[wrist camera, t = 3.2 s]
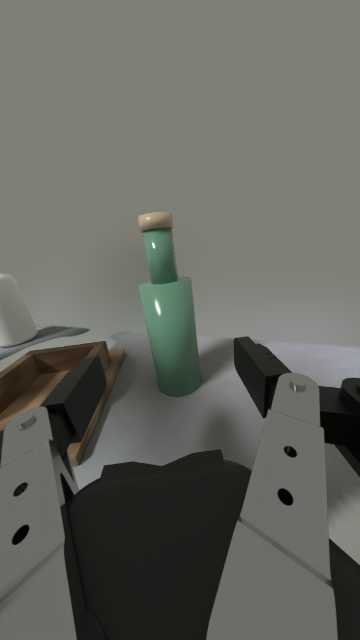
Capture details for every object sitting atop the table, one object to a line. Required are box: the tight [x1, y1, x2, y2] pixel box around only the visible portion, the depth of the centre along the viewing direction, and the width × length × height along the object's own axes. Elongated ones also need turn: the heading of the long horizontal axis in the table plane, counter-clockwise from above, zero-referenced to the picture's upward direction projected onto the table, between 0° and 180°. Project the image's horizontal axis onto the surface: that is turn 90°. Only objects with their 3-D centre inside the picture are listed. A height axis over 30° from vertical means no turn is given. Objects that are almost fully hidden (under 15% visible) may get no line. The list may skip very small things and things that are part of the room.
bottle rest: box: [0, 341, 125, 466], centre depth 23 cm, size 18×14×4 cm
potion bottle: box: [0, 273, 38, 347], centre depth 42 cm, size 8×8×18 cm
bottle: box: [138, 212, 201, 397], centre depth 21 cm, size 6×6×19 cm
